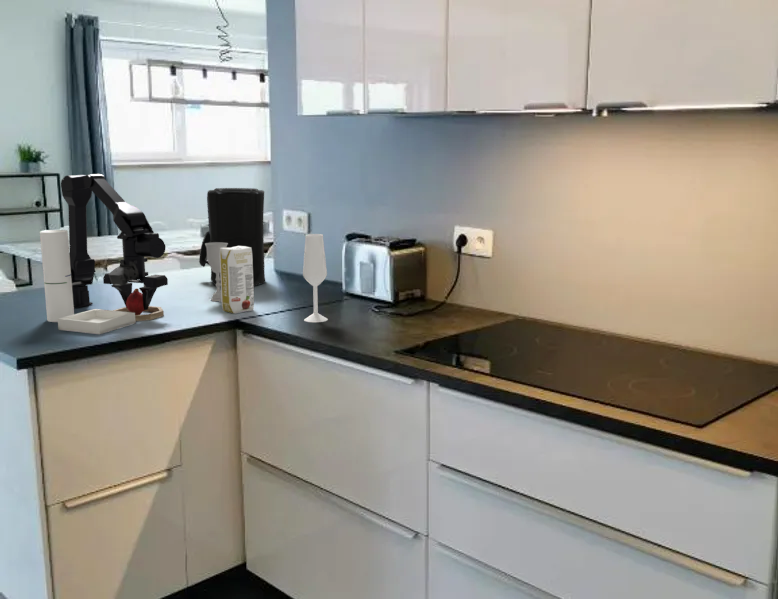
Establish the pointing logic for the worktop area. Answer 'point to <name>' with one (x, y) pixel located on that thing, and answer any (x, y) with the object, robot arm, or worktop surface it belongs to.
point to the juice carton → (236, 279)
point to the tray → (96, 321)
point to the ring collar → (157, 313)
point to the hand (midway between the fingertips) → (137, 309)
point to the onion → (135, 302)
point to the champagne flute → (314, 270)
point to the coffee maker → (236, 225)
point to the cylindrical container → (57, 274)
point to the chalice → (215, 264)
